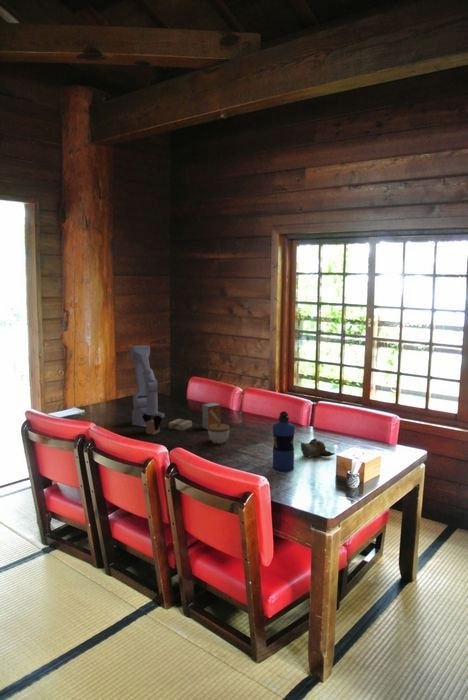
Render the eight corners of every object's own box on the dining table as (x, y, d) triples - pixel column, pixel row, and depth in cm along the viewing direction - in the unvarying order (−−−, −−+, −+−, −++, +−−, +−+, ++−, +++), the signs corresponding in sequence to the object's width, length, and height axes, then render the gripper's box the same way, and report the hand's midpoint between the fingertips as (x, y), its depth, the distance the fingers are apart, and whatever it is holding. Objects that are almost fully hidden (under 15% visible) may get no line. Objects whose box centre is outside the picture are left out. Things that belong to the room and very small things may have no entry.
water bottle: (292, 464, 234) (293, 409, 230) (295, 472, 224) (296, 414, 221) (271, 464, 233) (271, 409, 230) (273, 472, 224) (274, 415, 220)
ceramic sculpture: (296, 435, 245) (325, 434, 250) (295, 453, 246) (324, 452, 251) (306, 443, 235) (336, 441, 240) (304, 461, 236) (334, 460, 241)
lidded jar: (224, 446, 257) (224, 427, 256) (204, 443, 261) (204, 425, 260) (232, 439, 267) (232, 421, 266) (213, 437, 271) (212, 419, 270)
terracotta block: (146, 433, 278) (145, 421, 277) (152, 430, 282) (151, 419, 282) (153, 434, 276) (153, 423, 275) (159, 432, 280) (159, 421, 279)
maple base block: (168, 428, 287) (168, 422, 286) (178, 424, 294) (178, 418, 294) (182, 431, 282) (182, 425, 282) (192, 427, 290) (192, 420, 289)
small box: (208, 430, 283) (208, 406, 281) (202, 427, 288) (202, 404, 286) (221, 427, 287) (220, 404, 285) (215, 425, 292) (214, 402, 290)
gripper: (136, 403, 277) (137, 428, 279) (158, 407, 270) (158, 433, 272) (145, 400, 283) (145, 425, 285) (166, 404, 276) (167, 429, 278)
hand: (152, 429), depth 279 cm, fingers closed on terracotta block, 5 cm apart
